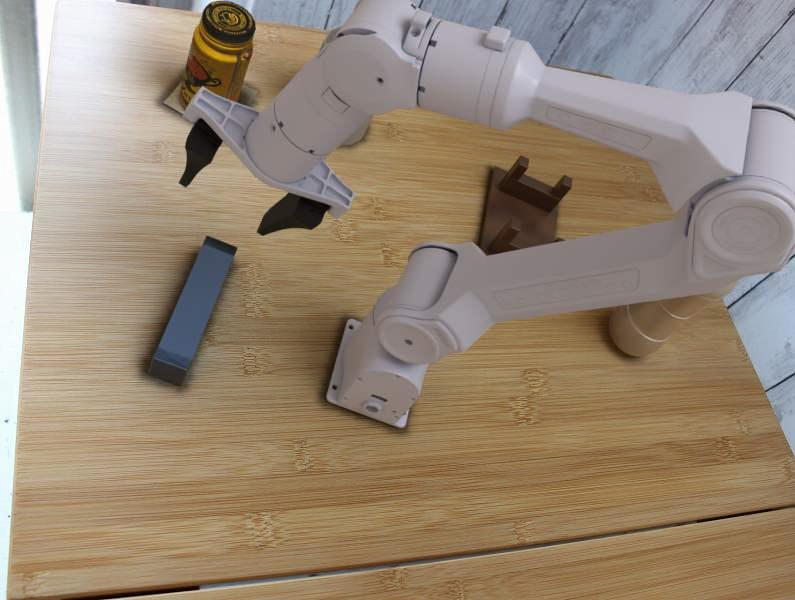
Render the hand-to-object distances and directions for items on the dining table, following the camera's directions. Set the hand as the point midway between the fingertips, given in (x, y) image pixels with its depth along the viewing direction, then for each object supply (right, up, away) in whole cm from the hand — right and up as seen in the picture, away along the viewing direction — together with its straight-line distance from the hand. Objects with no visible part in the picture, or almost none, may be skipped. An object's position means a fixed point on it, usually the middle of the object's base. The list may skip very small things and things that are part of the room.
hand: (225, 202), depth 71 cm
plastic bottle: (+41, -13, +25) cm, 50 cm away
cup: (+7, +13, +26) cm, 30 cm away
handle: (-4, -10, +5) cm, 12 cm away
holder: (+29, 0, +27) cm, 40 cm away
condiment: (-6, +14, +20) cm, 25 cm away
